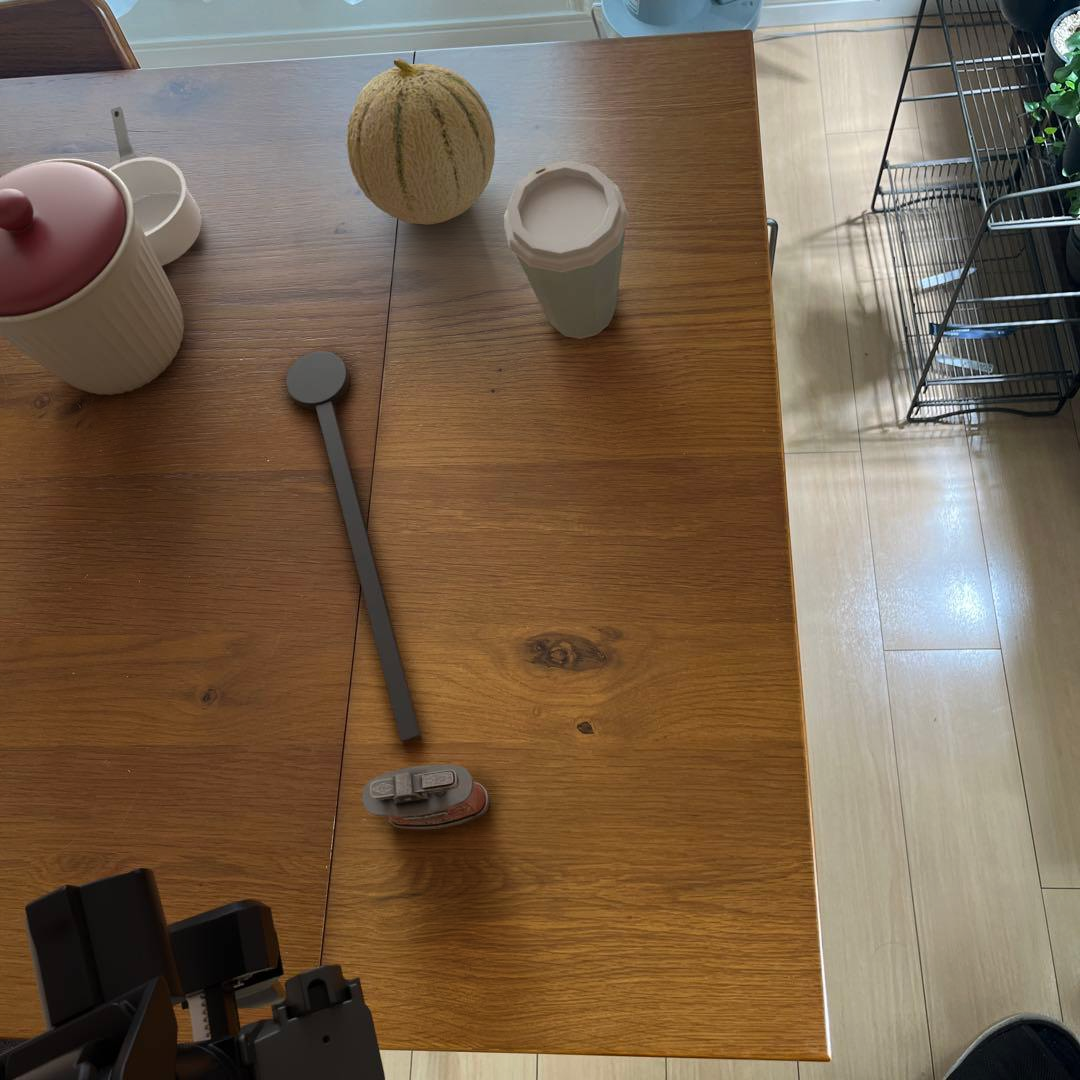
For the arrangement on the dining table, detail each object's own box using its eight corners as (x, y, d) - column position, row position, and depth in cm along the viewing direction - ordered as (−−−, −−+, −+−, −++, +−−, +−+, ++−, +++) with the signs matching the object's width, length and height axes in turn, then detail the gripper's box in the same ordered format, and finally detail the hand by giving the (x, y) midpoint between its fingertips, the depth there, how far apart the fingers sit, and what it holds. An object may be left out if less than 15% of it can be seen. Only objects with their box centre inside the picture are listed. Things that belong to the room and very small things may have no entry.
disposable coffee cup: (653, 329, 92) (651, 217, 78) (553, 378, 91) (533, 273, 77) (602, 254, 96) (591, 136, 82) (506, 300, 95) (479, 188, 82)
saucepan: (188, 131, 110) (165, 90, 105) (217, 257, 102) (194, 219, 97) (92, 163, 110) (65, 124, 105) (114, 292, 102) (85, 256, 97)
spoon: (448, 729, 78) (445, 725, 77) (378, 753, 78) (373, 750, 77) (342, 350, 95) (338, 343, 94) (284, 369, 95) (280, 362, 94)
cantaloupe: (407, 277, 98) (365, 165, 84) (347, 188, 104) (299, 70, 90) (532, 210, 99) (511, 90, 86) (466, 127, 106) (437, 2, 92)
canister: (227, 272, 101) (125, 108, 82) (197, 420, 94) (77, 278, 74) (66, 282, 103) (-70, 124, 84) (25, 427, 96) (-135, 291, 77)
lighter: (390, 835, 75) (352, 816, 66) (387, 791, 76) (350, 767, 67) (491, 820, 75) (467, 799, 66) (487, 777, 76) (463, 750, 67)
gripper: (390, 1296, 40) (462, 1212, 54) (302, 852, 48) (384, 880, 62) (135, 1388, 40) (274, 1279, 54) (88, 927, 48) (220, 937, 62)
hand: (294, 1079), depth 58 cm, fingers open, 9 cm apart
